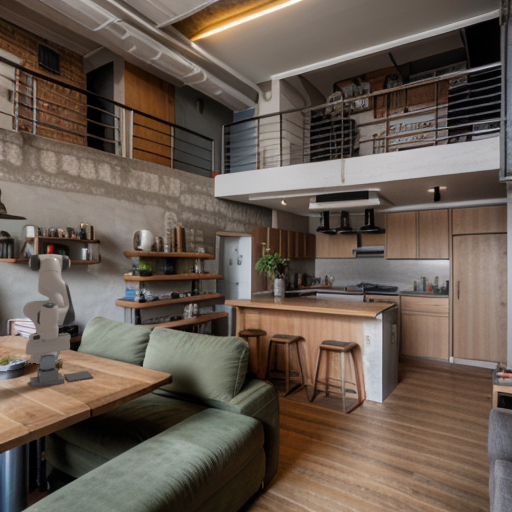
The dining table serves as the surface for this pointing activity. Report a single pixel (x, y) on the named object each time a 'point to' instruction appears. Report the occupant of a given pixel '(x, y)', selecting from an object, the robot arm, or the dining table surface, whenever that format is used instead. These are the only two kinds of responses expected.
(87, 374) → the mat
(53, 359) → the blue-grey cube
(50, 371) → the vise
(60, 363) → the gavel
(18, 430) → the dining table surface
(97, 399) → the dining table surface
